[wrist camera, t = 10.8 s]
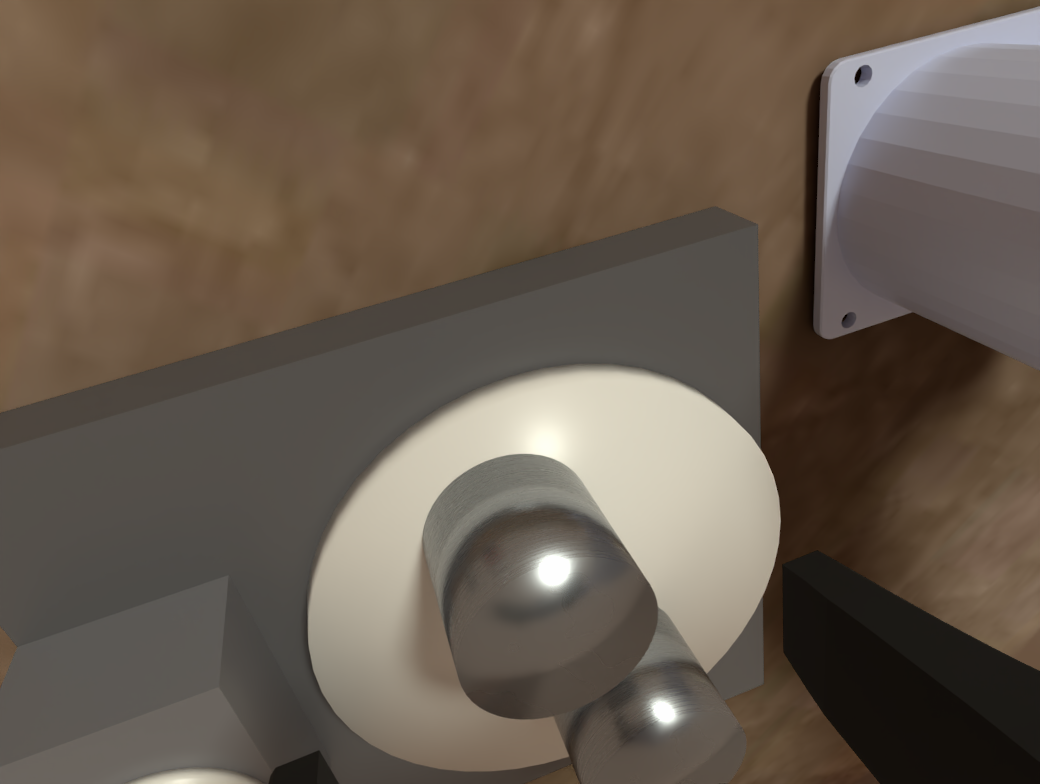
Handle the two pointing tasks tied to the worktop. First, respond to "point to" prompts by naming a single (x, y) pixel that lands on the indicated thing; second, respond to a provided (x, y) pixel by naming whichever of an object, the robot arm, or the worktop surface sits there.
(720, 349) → the kitchen scale
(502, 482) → the cylinder
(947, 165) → the robot arm
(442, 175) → the worktop surface
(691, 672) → the cylinder
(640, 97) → the worktop surface
